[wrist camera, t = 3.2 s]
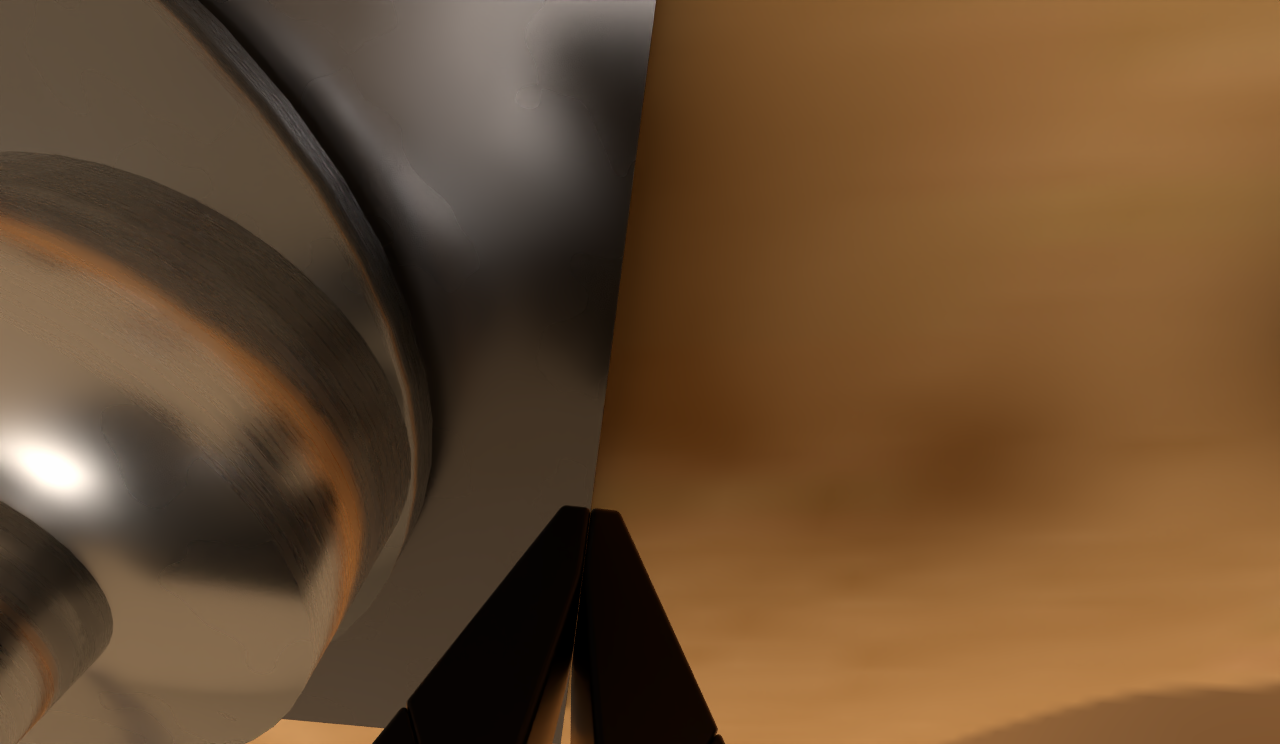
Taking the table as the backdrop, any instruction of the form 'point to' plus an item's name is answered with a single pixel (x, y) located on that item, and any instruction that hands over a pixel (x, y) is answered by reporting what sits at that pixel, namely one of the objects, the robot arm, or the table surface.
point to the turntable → (214, 167)
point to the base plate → (473, 272)
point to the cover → (173, 464)
